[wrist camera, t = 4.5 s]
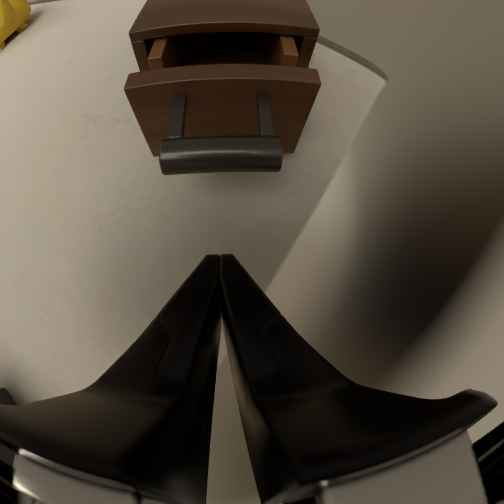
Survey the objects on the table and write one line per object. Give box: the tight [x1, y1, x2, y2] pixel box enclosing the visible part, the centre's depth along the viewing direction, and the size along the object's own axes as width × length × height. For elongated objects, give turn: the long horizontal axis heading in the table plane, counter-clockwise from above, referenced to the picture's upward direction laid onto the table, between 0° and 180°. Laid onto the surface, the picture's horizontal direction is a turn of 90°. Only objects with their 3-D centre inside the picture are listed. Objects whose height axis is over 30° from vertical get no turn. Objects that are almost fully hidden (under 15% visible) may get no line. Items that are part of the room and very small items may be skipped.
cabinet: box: [129, 0, 320, 72], centre depth 16 cm, size 14×11×9 cm
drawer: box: [124, 32, 321, 175], centre depth 15 cm, size 17×9×7 cm, turn 3°
